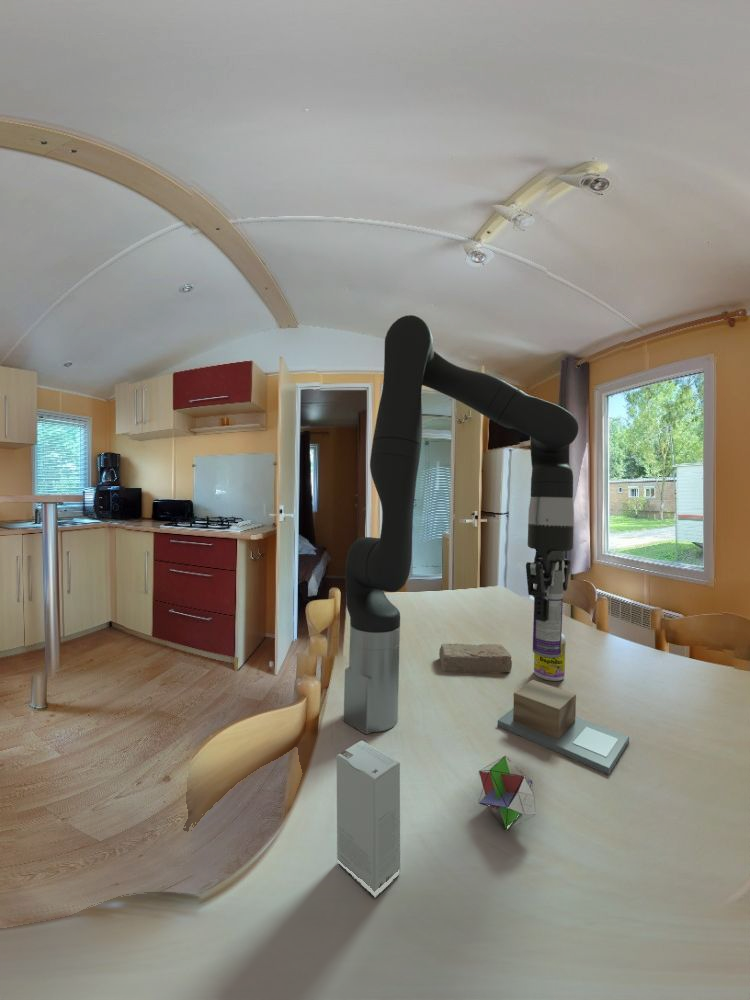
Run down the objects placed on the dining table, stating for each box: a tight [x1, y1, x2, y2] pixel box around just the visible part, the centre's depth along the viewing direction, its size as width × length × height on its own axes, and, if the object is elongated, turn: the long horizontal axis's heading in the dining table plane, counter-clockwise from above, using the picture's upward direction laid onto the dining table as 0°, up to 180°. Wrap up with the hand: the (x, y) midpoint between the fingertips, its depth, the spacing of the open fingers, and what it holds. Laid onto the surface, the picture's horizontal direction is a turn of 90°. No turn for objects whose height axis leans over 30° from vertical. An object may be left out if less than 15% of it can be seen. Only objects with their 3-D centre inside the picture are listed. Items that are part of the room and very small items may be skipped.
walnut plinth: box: [512, 679, 577, 739], centre depth 73 cm, size 8×8×5 cm
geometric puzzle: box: [477, 754, 537, 831], centre depth 51 cm, size 7×7×8 cm
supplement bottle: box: [533, 633, 567, 682], centre depth 95 cm, size 7×7×13 cm
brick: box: [438, 643, 513, 674], centre depth 100 cm, size 17×8×5 cm, turn 89°
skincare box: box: [335, 740, 401, 892], centre depth 44 cm, size 6×4×12 cm
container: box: [532, 570, 564, 658], centre depth 72 cm, size 5×5×15 cm
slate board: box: [497, 708, 630, 775], centre depth 71 cm, size 12×18×1 cm, turn 45°
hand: (547, 617), depth 72 cm, fingers closed on container, 4 cm apart
